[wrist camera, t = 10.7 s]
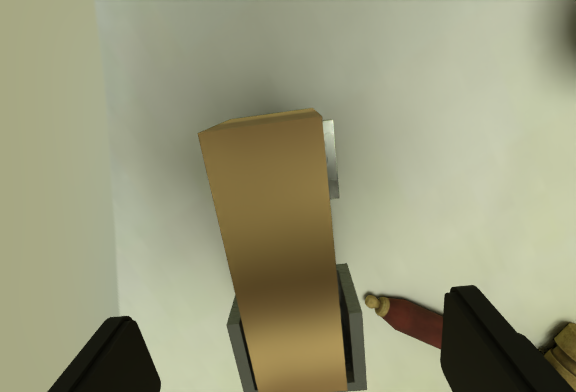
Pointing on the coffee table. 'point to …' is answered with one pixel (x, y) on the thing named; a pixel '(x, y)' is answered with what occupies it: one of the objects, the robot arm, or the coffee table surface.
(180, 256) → the coffee table surface
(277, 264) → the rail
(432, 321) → the gavel
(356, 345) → the cup bracket
